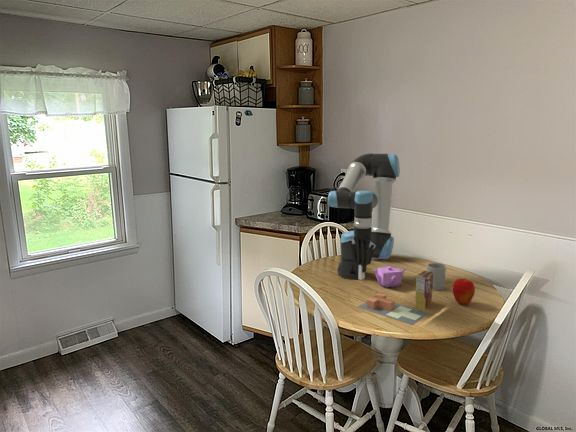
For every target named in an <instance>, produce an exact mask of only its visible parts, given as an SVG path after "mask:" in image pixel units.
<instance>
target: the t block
mask: <svg viewBox="0 0 576 432" xmlns="http://www.w3.org/2000/svg"><path fill="white" fill-rule="evenodd" d="M366 302H367V308H370V309H373V310H374V309H376V308H377V307H378V308H382V309H385V310H388V311H391V310H393V309H394V305H395V303H396V302H395V300H394V299H393V300H392V299H389V298H387V294H383V293H377V294H375V295H374V296H371V297H369V298H367V299H366Z"/></svg>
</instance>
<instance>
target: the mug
mask: <svg viewBox="0 0 576 432" xmlns="http://www.w3.org/2000/svg"><path fill="white" fill-rule="evenodd" d="M426 268H427V269H426V271H431V272H433V291H442V290H445V285H446V269H447V266H446V265H445V264H442V263H436V262H431V263H428V264H427V267H426Z"/></svg>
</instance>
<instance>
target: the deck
mask: <svg viewBox="0 0 576 432" xmlns="http://www.w3.org/2000/svg"><path fill="white" fill-rule="evenodd" d="M357 308H359V309H360V310H361V309H362V310H364V311H368V312H371V313H374V314H377V315H380V316H382V317H386V318H389V319H392V320H395V321H398V322H401V323H404V324H408V325H411V326H413V325H415V324H416V323H417V322H419V321H420V320H422V319H423V318H425V317H427V316H428V315H430V312H427V311H425V310H419V308H418V309H417V308H415V307H411V306H407V305H404V304H401V303H397V302H395V305H394V309H393V310H391V311H388V310H385V309H382V308H378V307H377V308H376V309H374V310H373V309H370V308H367V301H366V302H364V303H362V304H360V305H358V306H357Z"/></svg>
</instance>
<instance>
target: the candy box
mask: <svg viewBox="0 0 576 432" xmlns="http://www.w3.org/2000/svg"><path fill="white" fill-rule="evenodd" d="M415 279H416V280H415V283H416V284H415V307H416V308H418V309H422V310H425V309H426V308H428V307H429V306H431V305H432V304H433V291H434V290H433V272H431V271H427V269H426V270H423V271H422V272H420V273H418V274H417V275H416V278H415Z"/></svg>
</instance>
